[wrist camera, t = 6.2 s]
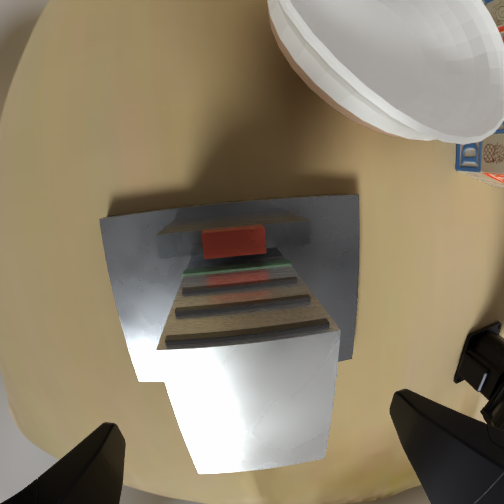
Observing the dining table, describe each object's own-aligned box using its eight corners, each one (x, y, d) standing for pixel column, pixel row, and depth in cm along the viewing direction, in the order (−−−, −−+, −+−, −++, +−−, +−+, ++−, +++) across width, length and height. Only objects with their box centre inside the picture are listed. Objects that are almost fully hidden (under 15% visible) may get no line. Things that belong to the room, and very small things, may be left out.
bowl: (216, -10, 14) (216, -83, 6) (387, -26, 14) (431, -67, 6) (309, 183, 18) (367, 187, 10) (466, 127, 18) (535, 121, 10)
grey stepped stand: (350, 193, 18) (412, 203, 11) (346, 350, 21) (385, 407, 14) (106, 216, 17) (49, 237, 10) (142, 372, 20) (120, 437, 13)
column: (275, 243, 14) (343, 324, 6) (280, 336, 15) (326, 458, 7) (191, 251, 14) (152, 345, 6) (205, 344, 15) (197, 474, 7)
